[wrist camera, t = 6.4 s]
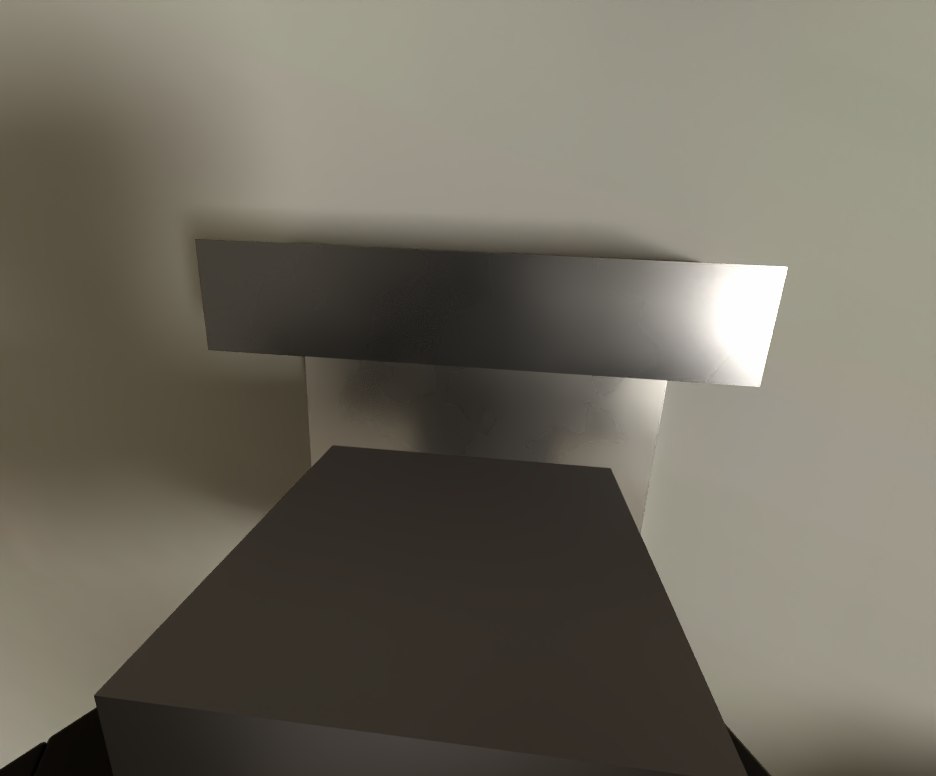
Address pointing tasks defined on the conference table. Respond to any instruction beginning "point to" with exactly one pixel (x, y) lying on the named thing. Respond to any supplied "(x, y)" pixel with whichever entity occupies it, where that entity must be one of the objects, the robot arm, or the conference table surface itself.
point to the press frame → (491, 345)
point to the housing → (424, 636)
